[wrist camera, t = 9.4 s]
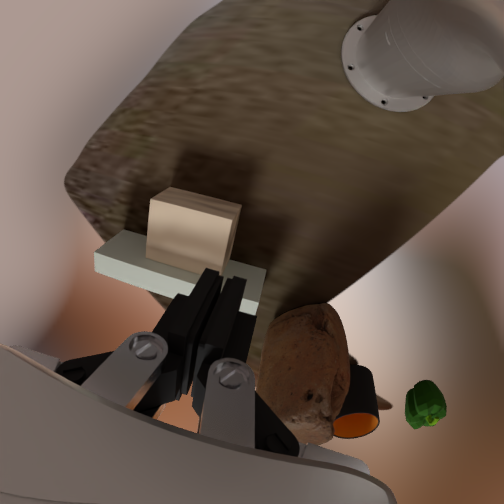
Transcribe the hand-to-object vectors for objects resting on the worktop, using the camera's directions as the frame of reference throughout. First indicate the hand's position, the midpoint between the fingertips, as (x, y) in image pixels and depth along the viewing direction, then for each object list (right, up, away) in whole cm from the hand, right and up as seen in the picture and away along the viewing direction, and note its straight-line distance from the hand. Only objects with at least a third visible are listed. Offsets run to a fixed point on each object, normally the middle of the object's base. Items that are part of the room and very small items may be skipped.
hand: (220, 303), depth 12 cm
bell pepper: (+34, -25, +36) cm, 56 cm away
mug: (+17, -22, +38) cm, 47 cm away
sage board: (-8, +1, +31) cm, 32 cm away
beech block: (-6, +6, +29) cm, 30 cm away
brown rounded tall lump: (+9, -8, +33) cm, 35 cm away
